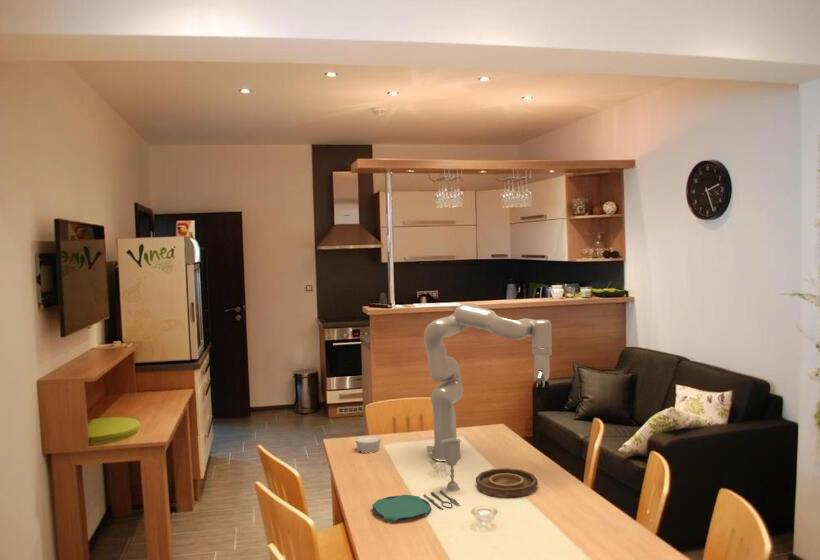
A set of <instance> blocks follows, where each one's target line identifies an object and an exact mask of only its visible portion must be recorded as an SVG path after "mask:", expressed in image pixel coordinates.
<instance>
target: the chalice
mask: <svg viewBox="0 0 820 560" xmlns="http://www.w3.org/2000/svg"><path fill="white" fill-rule="evenodd" d="M442 443H443V455H444V457H445V460H446V462H445V463H446V464H447V465H448V466H449V467H450V469H449V472H450V475H449V477H450V480H449V482H448V483H447V485H446V488H445V490H446V491H448V492H457V491H459V490H460V487H459V484H458V483H457V482H456V481H455V474H454V472H455V470H454V469H455V468H454V467H456V465H457V463H458V461H459V460H460V459H459V456H460V454H461V446H460V445H461V443H462V441H461V439H459V438H457V439H455V438H448V439H443V440H442ZM458 459H459V460H458Z"/></svg>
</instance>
